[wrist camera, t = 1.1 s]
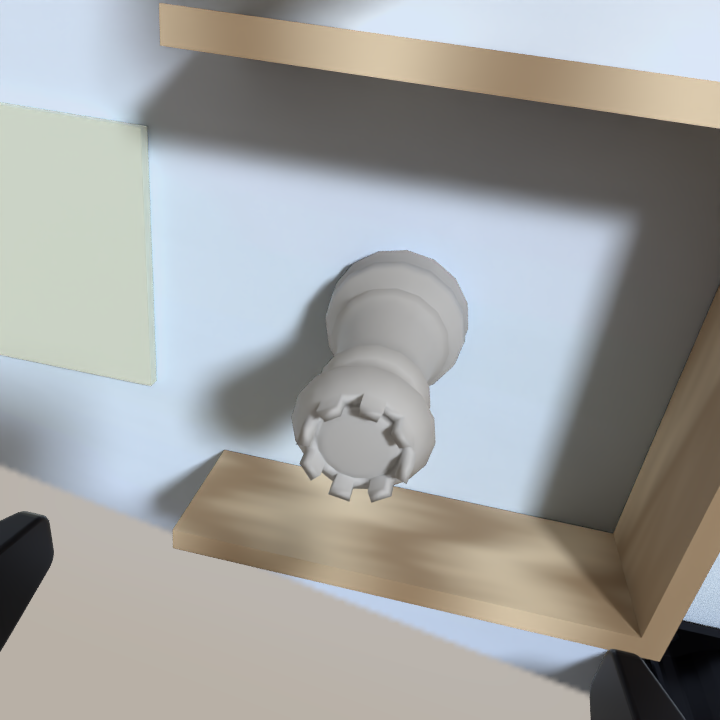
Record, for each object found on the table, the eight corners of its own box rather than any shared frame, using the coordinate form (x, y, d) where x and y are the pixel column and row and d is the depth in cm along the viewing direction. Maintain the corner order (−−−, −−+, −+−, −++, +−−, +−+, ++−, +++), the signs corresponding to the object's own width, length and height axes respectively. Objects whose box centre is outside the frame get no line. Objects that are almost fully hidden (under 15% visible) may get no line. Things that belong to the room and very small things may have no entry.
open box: (834, 98, 15) (958, 115, 11) (628, 554, 22) (659, 661, 19) (235, 14, 17) (159, 2, 13) (224, 466, 24) (173, 548, 20)
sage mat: (147, 125, 19) (140, 127, 18) (156, 380, 23) (151, 385, 22) (-120, 82, 19) (-131, 83, 19) (-63, 335, 24) (-72, 340, 23)
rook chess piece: (354, 383, 21) (292, 546, 14) (314, 263, 20) (221, 381, 13) (482, 360, 20) (483, 525, 13) (451, 229, 18) (432, 340, 11)
